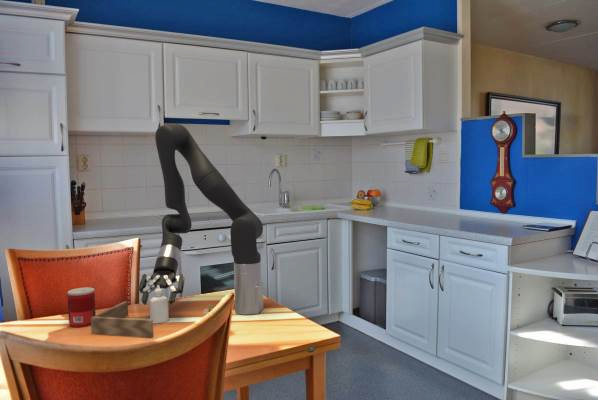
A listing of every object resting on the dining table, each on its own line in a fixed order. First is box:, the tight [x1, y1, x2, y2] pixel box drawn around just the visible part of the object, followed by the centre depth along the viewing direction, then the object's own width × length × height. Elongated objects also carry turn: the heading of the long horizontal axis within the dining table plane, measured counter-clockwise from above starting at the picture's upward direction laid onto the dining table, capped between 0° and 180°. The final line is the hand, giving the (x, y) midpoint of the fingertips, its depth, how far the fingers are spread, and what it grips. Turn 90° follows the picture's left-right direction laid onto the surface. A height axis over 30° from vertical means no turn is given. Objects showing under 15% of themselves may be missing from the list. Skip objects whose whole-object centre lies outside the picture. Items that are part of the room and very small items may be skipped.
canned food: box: [67, 286, 97, 328], centre depth 155 cm, size 8×8×11 cm
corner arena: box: [90, 300, 154, 339], centre depth 152 cm, size 20×18×5 cm
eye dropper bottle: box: [149, 285, 170, 325], centre depth 156 cm, size 4×6×12 cm
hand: (157, 303), depth 154 cm, fingers open, 8 cm apart
